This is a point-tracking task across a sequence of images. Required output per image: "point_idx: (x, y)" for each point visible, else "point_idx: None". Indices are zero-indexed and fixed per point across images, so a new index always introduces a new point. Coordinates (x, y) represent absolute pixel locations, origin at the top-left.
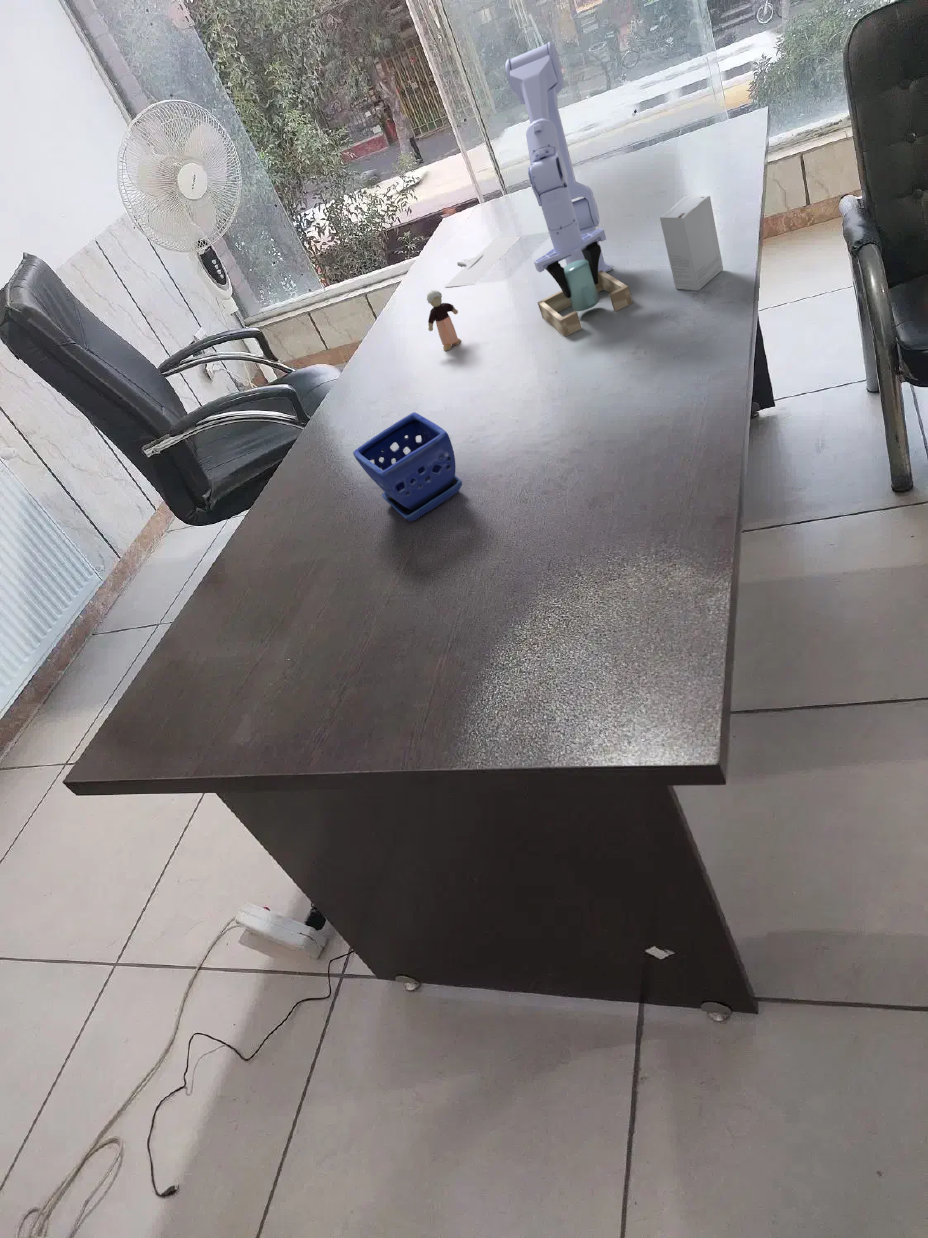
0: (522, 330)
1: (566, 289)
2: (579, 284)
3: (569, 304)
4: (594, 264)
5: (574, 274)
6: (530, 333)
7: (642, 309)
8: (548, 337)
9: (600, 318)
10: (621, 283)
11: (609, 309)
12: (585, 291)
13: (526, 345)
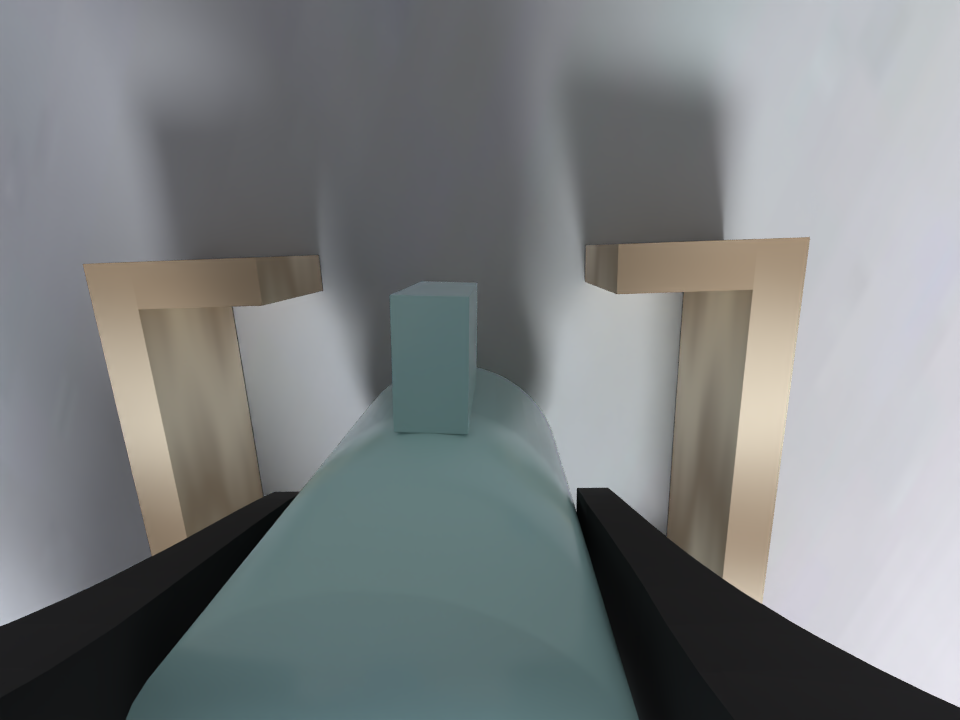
0: (850, 615)
1: (641, 525)
2: (475, 461)
3: None
4: (85, 617)
5: (500, 582)
6: (842, 529)
7: (159, 79)
8: (801, 354)
9: (434, 260)
10: (123, 387)
11: (342, 329)
12: (465, 297)
13: (954, 395)
